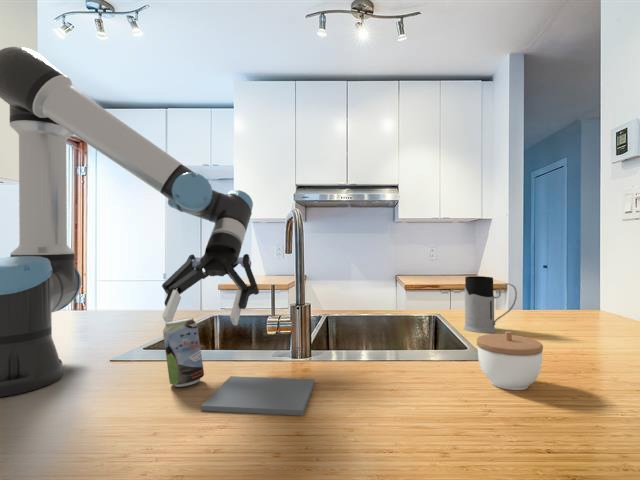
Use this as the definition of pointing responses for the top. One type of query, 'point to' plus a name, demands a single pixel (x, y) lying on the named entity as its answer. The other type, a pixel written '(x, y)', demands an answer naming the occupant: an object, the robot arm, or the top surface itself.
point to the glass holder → (481, 304)
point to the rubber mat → (261, 396)
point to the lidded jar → (510, 360)
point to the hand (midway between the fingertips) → (199, 321)
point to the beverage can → (183, 352)
